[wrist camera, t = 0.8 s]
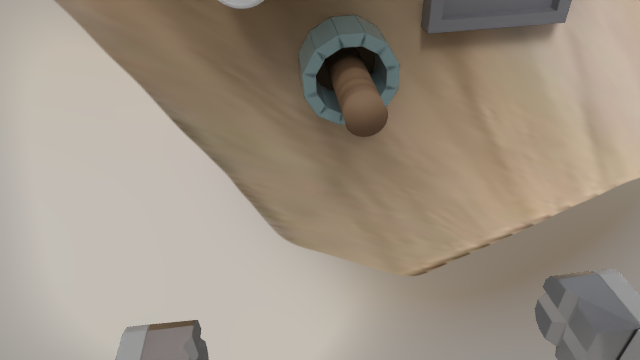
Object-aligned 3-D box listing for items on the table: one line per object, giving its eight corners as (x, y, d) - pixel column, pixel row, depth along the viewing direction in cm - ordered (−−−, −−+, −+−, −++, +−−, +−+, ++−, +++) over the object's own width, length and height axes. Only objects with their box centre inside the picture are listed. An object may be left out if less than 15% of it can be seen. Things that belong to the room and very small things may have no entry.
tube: (296, 19, 43) (300, 38, 40) (389, 12, 44) (402, 29, 40) (301, 104, 49) (306, 127, 45) (384, 96, 50) (395, 119, 46)
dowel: (325, 45, 45) (345, 100, 36) (360, 42, 46) (389, 96, 36) (326, 78, 48) (345, 138, 38) (359, 75, 48) (386, 134, 38)
